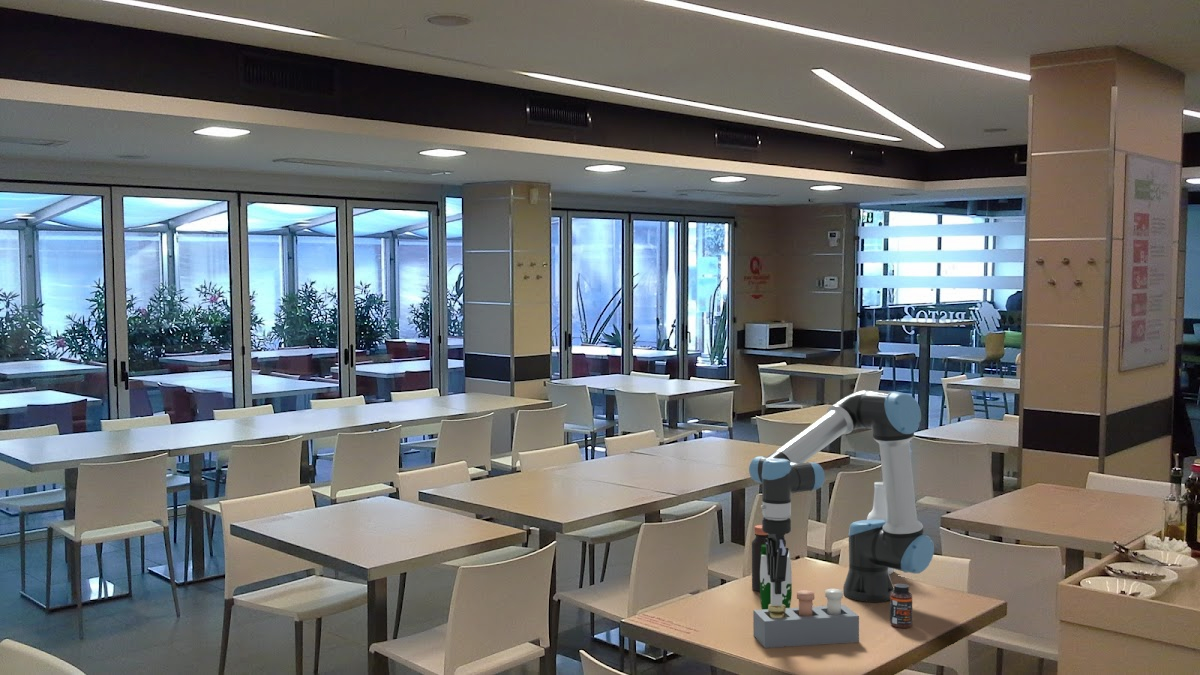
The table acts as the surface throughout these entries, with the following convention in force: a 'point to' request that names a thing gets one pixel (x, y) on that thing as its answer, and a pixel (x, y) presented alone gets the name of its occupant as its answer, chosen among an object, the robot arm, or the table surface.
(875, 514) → the alcohol
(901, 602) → the supplement bottle
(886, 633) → the table surface
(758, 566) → the vinegar
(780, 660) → the table surface
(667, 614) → the table surface
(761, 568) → the milk carton
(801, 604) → the pink rounded piece
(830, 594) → the white rounded piece
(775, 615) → the brass plunger
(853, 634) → the block
